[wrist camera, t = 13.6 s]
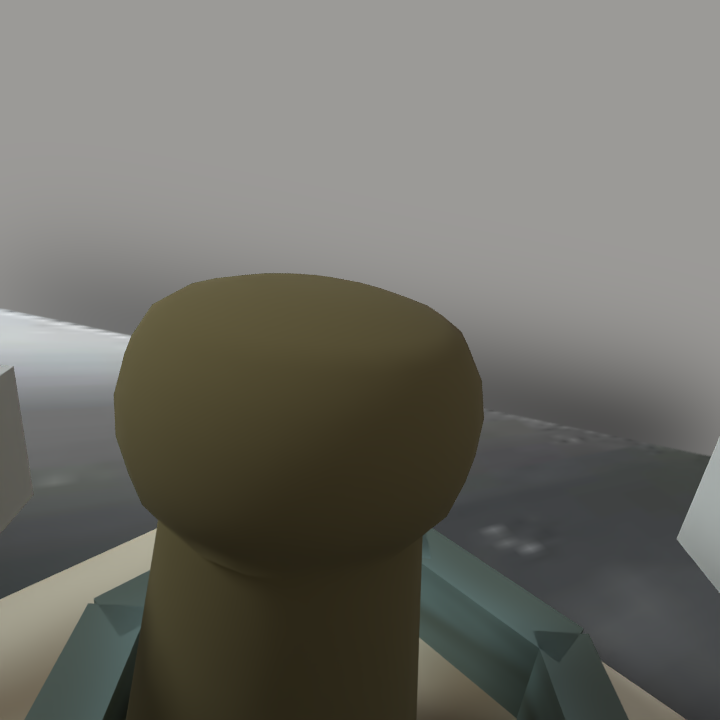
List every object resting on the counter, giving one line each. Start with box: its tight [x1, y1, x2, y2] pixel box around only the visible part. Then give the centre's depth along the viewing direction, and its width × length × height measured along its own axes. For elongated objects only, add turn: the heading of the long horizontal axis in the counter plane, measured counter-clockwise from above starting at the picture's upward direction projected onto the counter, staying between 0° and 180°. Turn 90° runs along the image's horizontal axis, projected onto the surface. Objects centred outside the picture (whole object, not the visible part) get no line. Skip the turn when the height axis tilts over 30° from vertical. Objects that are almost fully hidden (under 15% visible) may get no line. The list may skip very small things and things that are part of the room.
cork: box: [114, 273, 484, 720], centre depth 9 cm, size 6×6×11 cm
